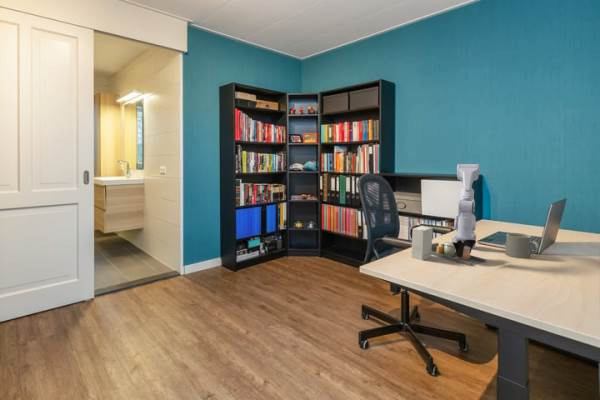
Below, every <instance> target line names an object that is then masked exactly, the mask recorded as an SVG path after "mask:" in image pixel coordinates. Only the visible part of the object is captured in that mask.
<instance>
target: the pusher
mask: <svg viewBox="0 0 600 400" xmlns="http://www.w3.org/2000/svg"><path fill="white" fill-rule="evenodd" d="M436 253H440V254H444V243H441V244H440V245H439V246H437V251H436Z"/></svg>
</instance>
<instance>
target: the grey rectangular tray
mask: <svg viewBox="0 0 600 400" xmlns="http://www.w3.org/2000/svg"><path fill="white" fill-rule="evenodd" d="M437 246H440V244H439V242H434V243H433V242H432V251H431V256H434V257H436V258H437V257H438V258H440V259H445V260H449V261H451V262H454V263H458V264H462V265H464V266H468V267H471V266H476V265H481V264H484V263H487V259H486V258H482V257H479V256H475V255H471V254H470V260H469V261H464V260H461V259H457V254H456V251H455V257H450V256H447V255H444V254H440V253H436V251H437Z"/></svg>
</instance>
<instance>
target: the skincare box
mask: <svg viewBox="0 0 600 400" xmlns="http://www.w3.org/2000/svg"><path fill="white" fill-rule="evenodd" d="M411 234H412V237H411V252H410V253H411V254H410V255H411V256H410V258H411V259H415V260H419V261H425V260H428V259H430V258H432V255H431V251H432V244H433V227H430V226H425V225H420V226H417V227H414V228H412V232H411Z"/></svg>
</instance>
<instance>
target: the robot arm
mask: <svg viewBox="0 0 600 400" xmlns="http://www.w3.org/2000/svg"><path fill="white" fill-rule="evenodd" d="M479 175H480V164H479V163H476V164H475V163H474V164H473V163H458V164H457V165H456V177H457V180H459V181H461V183H462V188H461V189H460V190H459V200H458V204H457V212H458V213H456V214H455V216H454V223H453V226H454V228H453V229H454V230H456V235H455V236H453V237H451V243H453V245H454V247H455V250H456V254H457V257H462V256H463V250H464V247H465V246H469V247H470V254H471V253H472V250H474V249H478V248H477V246H476V243H477V240H476V239H477V234H476V233H475V231H476V226H477V223H476V222H477V221H476V219H477V217H476V215H475V214H474V213H475V205H476V202H475V198H474V196H475V189H473V188H472V186H473V183H474V181H478V179H479Z"/></svg>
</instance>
